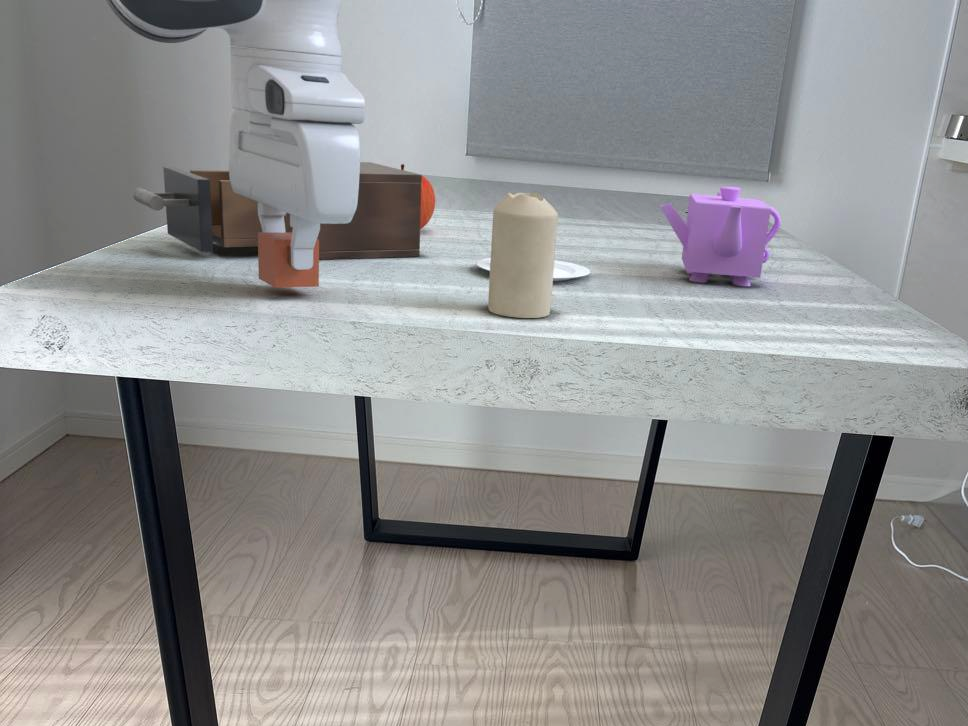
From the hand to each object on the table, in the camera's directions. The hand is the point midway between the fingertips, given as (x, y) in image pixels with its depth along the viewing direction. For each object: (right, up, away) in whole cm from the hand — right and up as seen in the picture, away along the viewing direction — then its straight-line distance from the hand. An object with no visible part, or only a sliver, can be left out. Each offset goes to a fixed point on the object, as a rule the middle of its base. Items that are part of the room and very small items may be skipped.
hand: (288, 262), depth 92 cm
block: (0, -2, +1) cm, 2 cm away
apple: (+4, +15, +42) cm, 44 cm away
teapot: (+41, +5, +25) cm, 49 cm away
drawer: (-11, +7, +18) cm, 22 cm away
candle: (+20, -4, +1) cm, 21 cm away
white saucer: (+21, +4, +19) cm, 29 cm away
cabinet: (0, +8, +25) cm, 26 cm away
